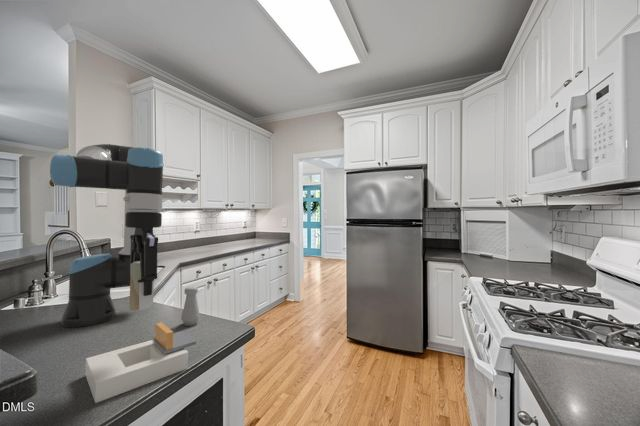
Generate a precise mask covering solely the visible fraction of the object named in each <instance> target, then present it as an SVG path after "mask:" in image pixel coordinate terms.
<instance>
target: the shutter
mask: <svg viewBox="0 0 640 426" xmlns="http://www.w3.org/2000/svg"><path fill="white" fill-rule="evenodd" d="M154 329H155V330H154V331H155V332H154V336H155V337H154V338H152V340H153V343H154V344H155V345H156V346H157V347H158V348H159V349H160V350H161V351H162V352H163V353H164V354H167V353H170V352H173V351H176V350H180V349H183V348H184V349H186V348H188V347H191V346H194V345H197V340H196V339H194V338H193V336H191V335H189V334H188V333H186V332H185V331H184V330H181V331H176V332H174V331H173V330H172V329H170V328H169V327H168V326H167V325H165V324H164V323H163V322H162V321H160V322H156V323H155V328H154Z"/></svg>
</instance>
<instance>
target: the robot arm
mask: <svg viewBox="0 0 640 426" xmlns="http://www.w3.org/2000/svg"><path fill="white" fill-rule="evenodd" d="M163 156H164V155H163V152H161V151H159V150H156V149H154V148H148V147H133V146H126V145H117V144H110V143H109V144H108V143H107V144H105V143H101V144H93V145H88V146H85V147H83V148H80V149H79V150H78V152H77V153H76V155H75V156H74V155H69V154H66V155H63V154H56V155H52V157H51V159H50V164H49V165H50V166H49V175H50V181H51V183H53V185H55V186H58V187H59V186H62V187H67V188H86V189H87V188H89V189H90V188H91V189H107V190H121V191H122V190H123V191H125V192H124V194H125V195H124V196H125V197H123V201H124V218H123V219H124V222H123V224H124V226H123V248H122V249H120V250H119V251H118V256H115V257H114V256H113V255H112V254H111V253H100V254H93V255H88V256H87V255H86V256H81V257H78V258H76V259H73V260H71V262H70V264H69V265H70V266H69V272H68V274H69V281H68V282H69V284H68V302H67V304H66V306H65V309H64V311H63V314H62V315H61V319H60V326H62V327H64V328H80V327H87V326H92V325H97V324H101V323H105V322H108V321H110V320H112V319H113V318H115V317H116V308H115V304H114V302H113V299H112V297H111V289H116V288H118V289H119V288H127V287H130V269H131V264H132V263H133V262H134V261H140V267H141V280H138V283H140V285H139V309H138V311H143V310H148V309H152V308H154V283H153V282H154V281H155V280H157V279H158V265H159V264H158V261H159V255H158V243H159V237H158V236H156V235H155V234H154V228H161V227H162V218H163V214H162V213H161V212H160V211H162V210H163V181H164V180H163V175H164V173H163V172H164V157H163ZM149 274H150V275H149Z"/></svg>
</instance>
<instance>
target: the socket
mask: <svg viewBox="0 0 640 426" xmlns="http://www.w3.org/2000/svg"><path fill="white" fill-rule="evenodd" d="M187 369H189V351H188V350H187V349H186V348H183V349H180V350H176V351H173V352H170V353H167V354H164V353H163V352H162V351H161V350H160V349H159V348H158V347H157V346H156V345H155V344H154V343H153V339H151V340H147V341H144V342H141V343H135V344H133V345H132V344H131V345H129V346H126V347H122V348H118V349H114V350H111V351H108V352H104V353H100V354H97V355H93V356H90V357H87V358H85V378H86V381H87V384H88V386H89V390H90V392H91V395H92V398H93V400H94V403H95V404H97V403H99V402H103V401H104V400H108V399H110V398H113V397H115V396H118V395H119V396H120V394H123V393H126V392H128V391H133V390H134V389H137V388H140V387H142V386H144V385H148V384H149V383H153V382H156V381H158V380H160V379H163V378H166V377H169V376H171V375H174V374H177V373H179V372H181V371H182V372H183V371H185V370H187Z"/></svg>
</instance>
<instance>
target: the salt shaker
mask: <svg viewBox="0 0 640 426" xmlns="http://www.w3.org/2000/svg"><path fill="white" fill-rule="evenodd" d="M183 292H184V294H185V295H186V296H185V300H184V306H183V310H182V313H181V319H180V320H181V321H182V323H183V325H184V326H185V327H191V326H196V325H197V324H198V322H199V319H200V311H199V310H200V309H199V305H198V298H197V294H198V292H199V289H198V287H197V286H196V285H195V286H193V285H191V286H187V287H185V288H184V291H183Z"/></svg>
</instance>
